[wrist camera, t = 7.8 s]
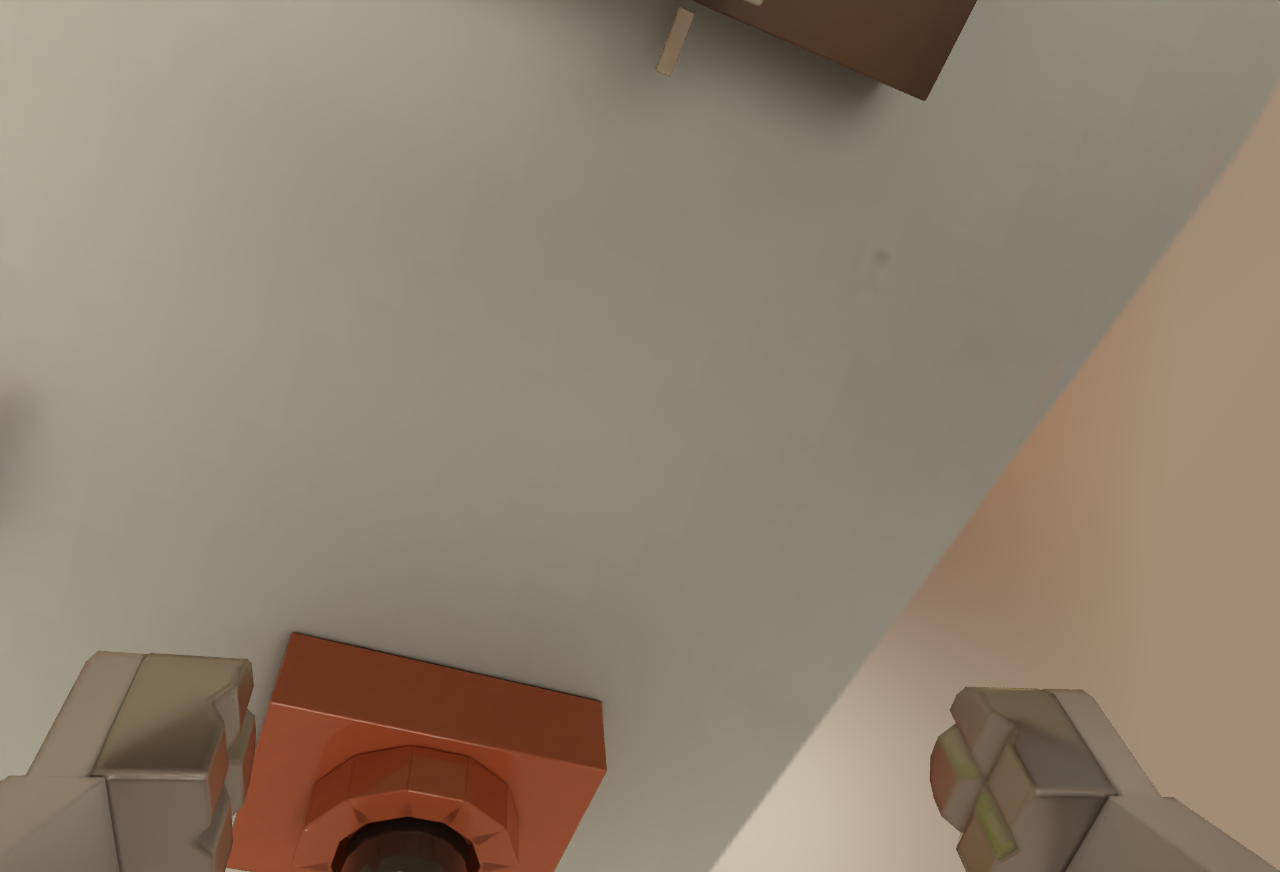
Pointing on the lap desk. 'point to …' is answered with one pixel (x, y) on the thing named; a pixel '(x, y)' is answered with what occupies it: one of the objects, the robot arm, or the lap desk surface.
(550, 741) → the orange knob box
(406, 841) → the button
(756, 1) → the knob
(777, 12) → the panel
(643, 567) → the lap desk surface
